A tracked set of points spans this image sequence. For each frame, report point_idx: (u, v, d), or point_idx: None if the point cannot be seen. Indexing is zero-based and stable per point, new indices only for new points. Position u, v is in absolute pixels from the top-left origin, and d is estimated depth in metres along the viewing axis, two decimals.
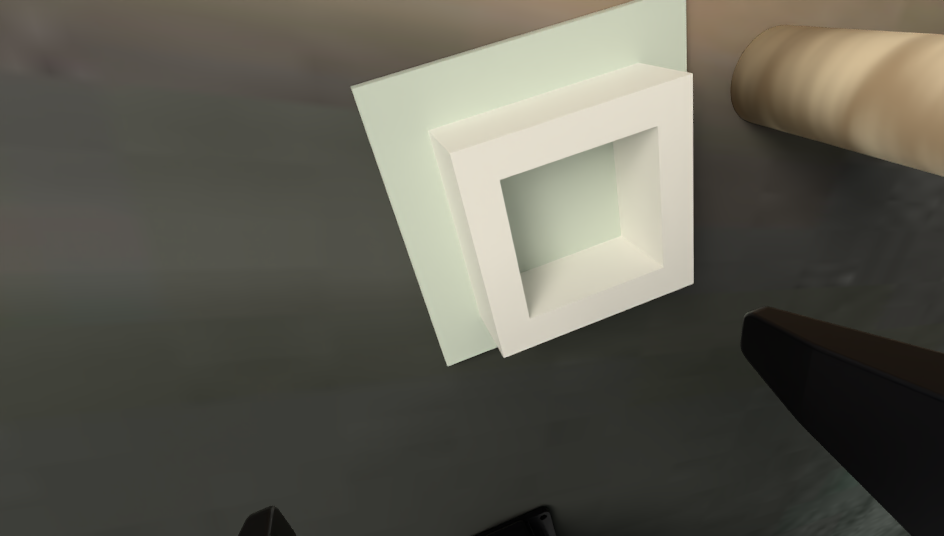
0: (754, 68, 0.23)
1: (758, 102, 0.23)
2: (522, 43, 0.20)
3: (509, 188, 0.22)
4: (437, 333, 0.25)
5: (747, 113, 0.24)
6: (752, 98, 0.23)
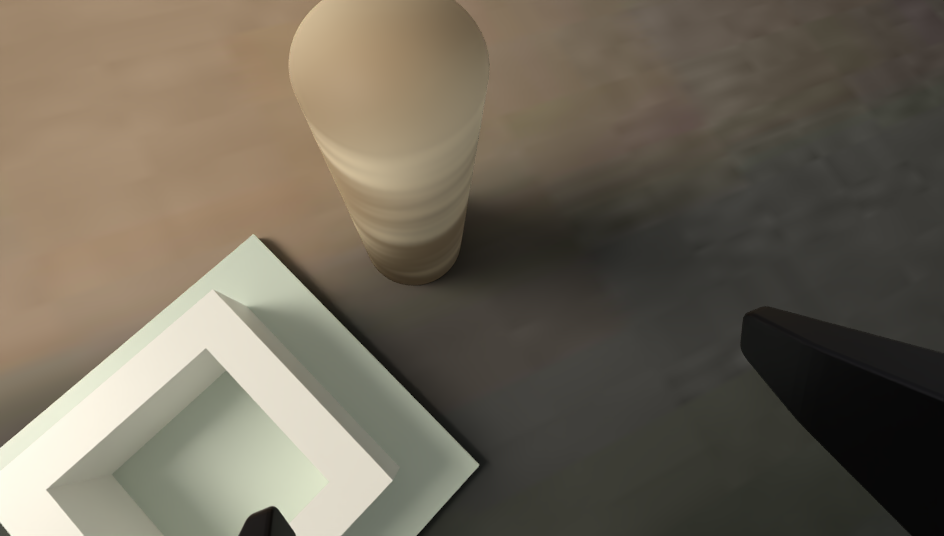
0: None
1: (380, 266, 0.22)
2: (118, 354, 0.21)
3: (172, 487, 0.20)
4: None
5: (398, 279, 0.23)
6: (379, 266, 0.22)
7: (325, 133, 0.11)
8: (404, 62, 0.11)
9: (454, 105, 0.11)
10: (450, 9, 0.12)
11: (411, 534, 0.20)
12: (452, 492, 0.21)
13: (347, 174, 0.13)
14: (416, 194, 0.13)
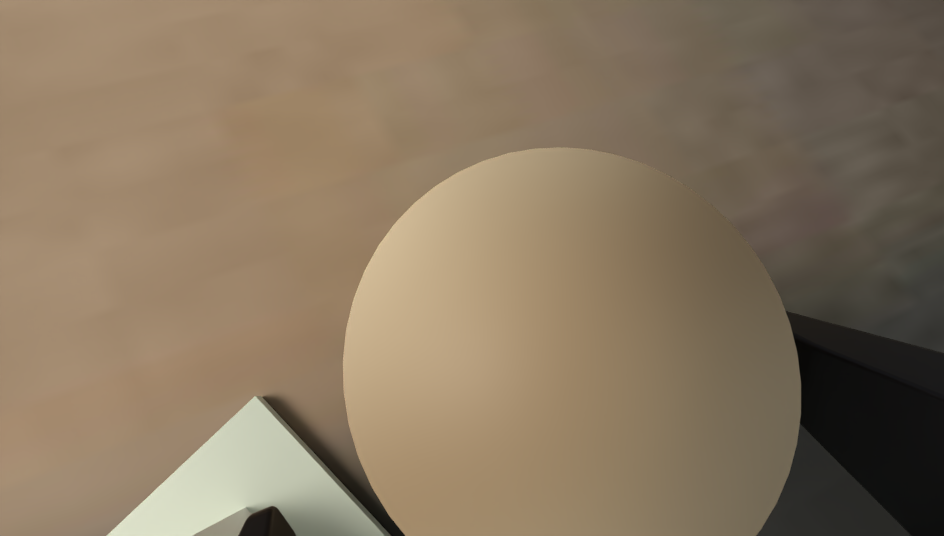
0: None
1: None
2: None
3: None
4: None
5: None
6: None
7: None
8: (609, 357, 0.05)
9: (736, 469, 0.05)
10: (691, 215, 0.05)
11: None
12: None
13: None
14: None
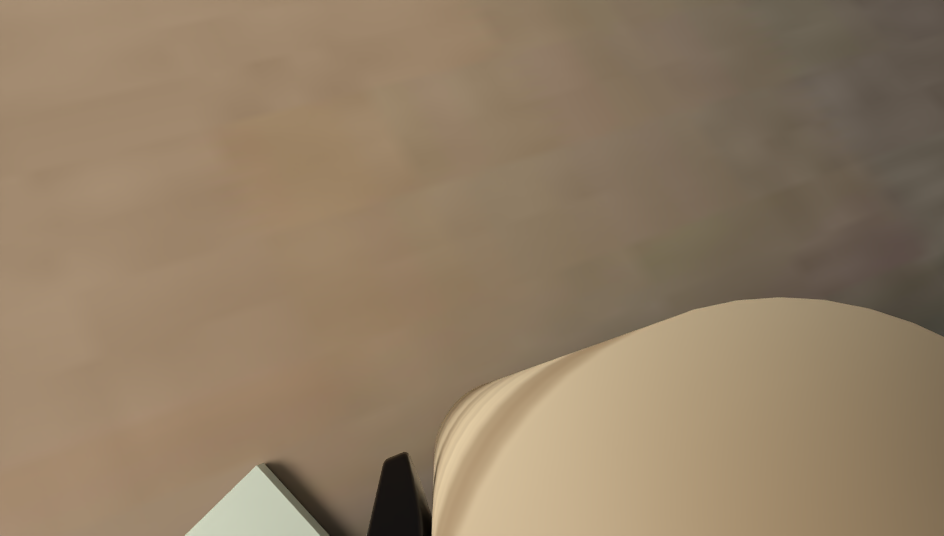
0: None
1: None
2: None
3: None
4: None
5: None
6: None
7: None
8: None
9: None
10: None
11: None
12: None
13: None
14: None
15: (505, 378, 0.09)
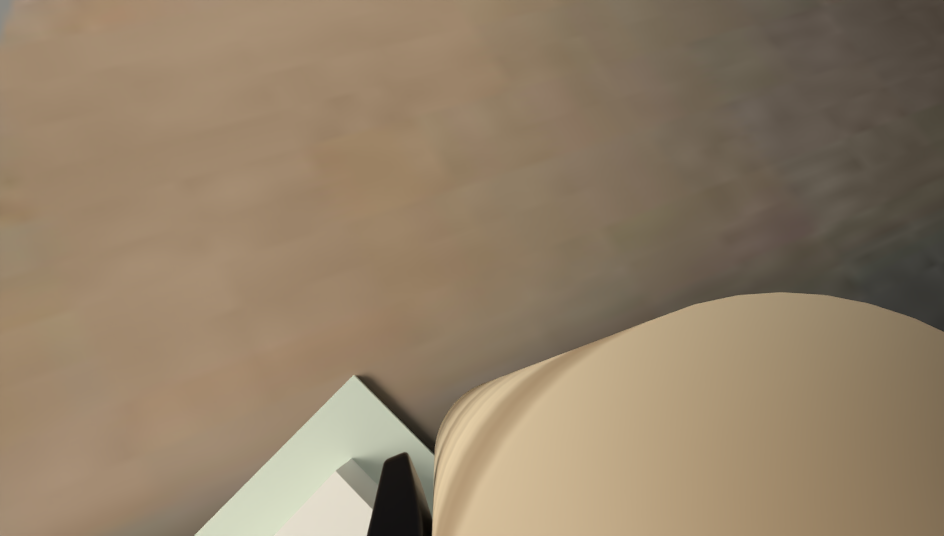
0: None
1: None
2: (218, 518, 0.20)
3: None
4: None
5: None
6: None
7: None
8: None
9: None
10: None
11: None
12: None
13: None
14: None
15: (505, 376, 0.09)
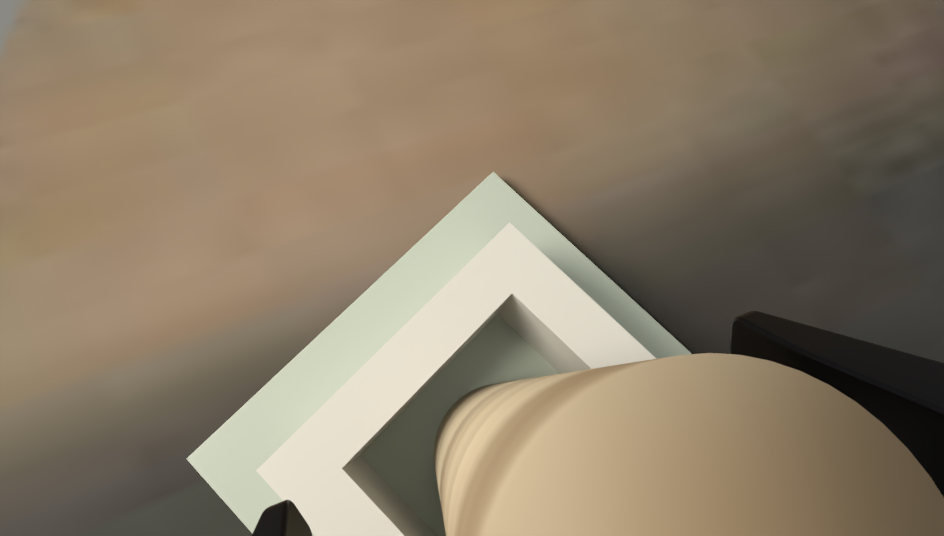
0: None
1: None
2: (353, 310, 0.18)
3: (434, 470, 0.16)
4: None
5: None
6: None
7: None
8: None
9: None
10: (861, 437, 0.05)
11: None
12: None
13: None
14: None
15: (504, 388, 0.10)
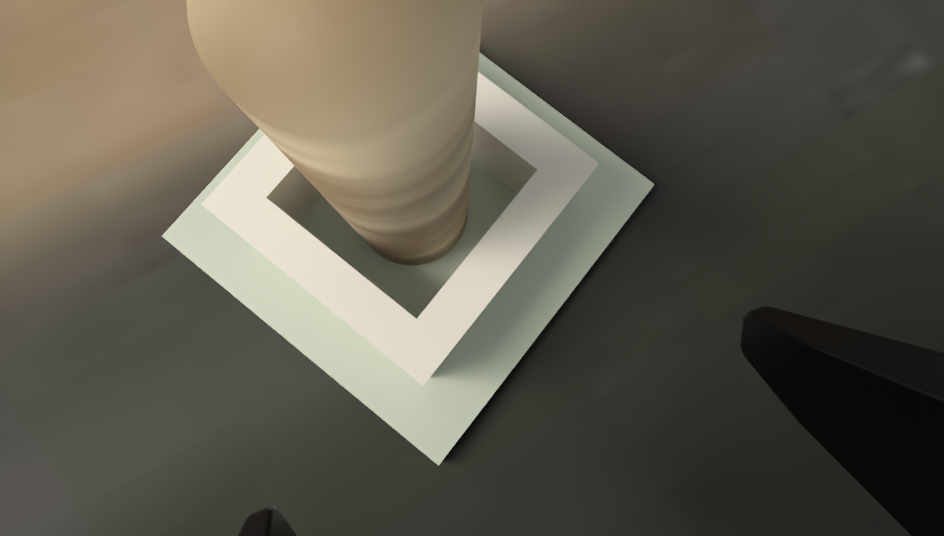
0: None
1: (377, 250, 0.19)
2: None
3: None
4: (395, 427, 0.19)
5: (400, 261, 0.19)
6: (376, 250, 0.19)
7: (254, 115, 0.07)
8: None
9: (437, 49, 0.08)
10: None
11: (597, 251, 0.20)
12: (631, 211, 0.21)
13: (304, 163, 0.09)
14: (401, 178, 0.10)
15: None
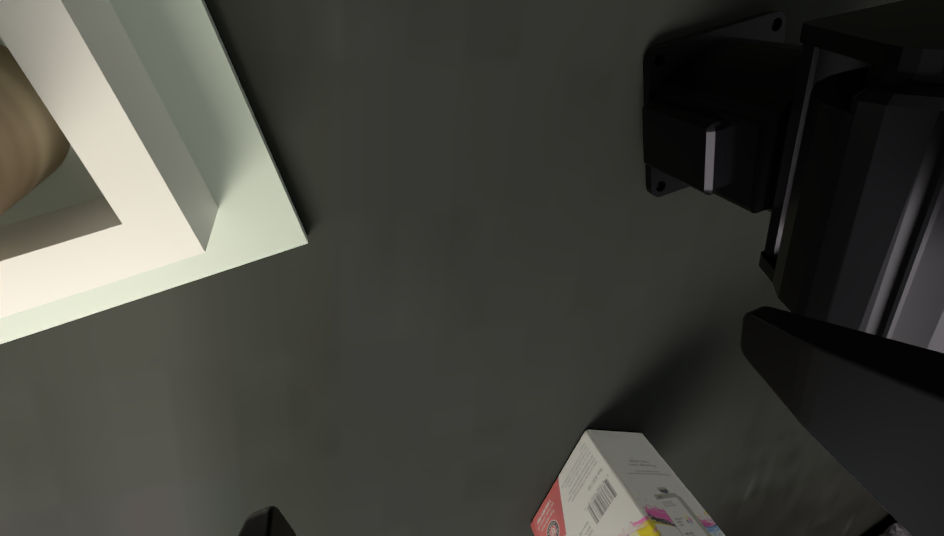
0: None
1: None
2: None
3: None
4: (250, 260, 0.19)
5: (49, 174, 0.15)
6: None
7: None
8: None
9: None
10: None
11: None
12: None
13: None
14: None
15: None
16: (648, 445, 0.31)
